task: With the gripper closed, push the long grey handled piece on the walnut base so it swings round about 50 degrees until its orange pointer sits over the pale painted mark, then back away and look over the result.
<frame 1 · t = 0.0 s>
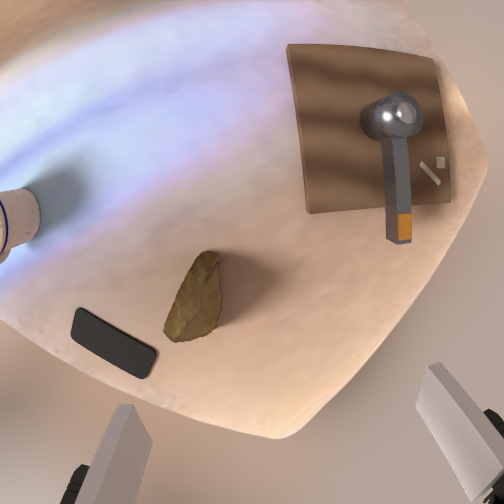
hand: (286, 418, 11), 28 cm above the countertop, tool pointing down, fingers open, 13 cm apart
rock: (208, 289, 39), on the countertop
teacup with lid: (22, 222, 36), on the countertop
phone: (112, 342, 42), on the countertop
base board: (376, 124, 34), on the countertop
grey handled piece: (396, 168, 29), point 6 cm above the countertop, hinge at 0.0°
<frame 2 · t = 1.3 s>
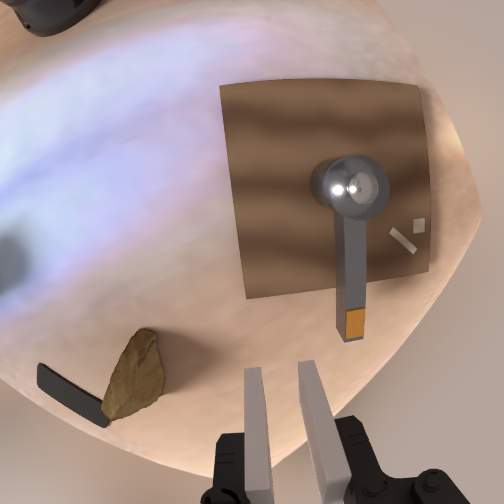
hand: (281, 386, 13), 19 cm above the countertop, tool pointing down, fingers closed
rock: (150, 361, 35), on the countertop
phone: (73, 394, 38), on the countertop
base board: (336, 182, 29), on the countertop
grey handled piece: (350, 253, 25), point 6 cm above the countertop, hinge at 0.0°
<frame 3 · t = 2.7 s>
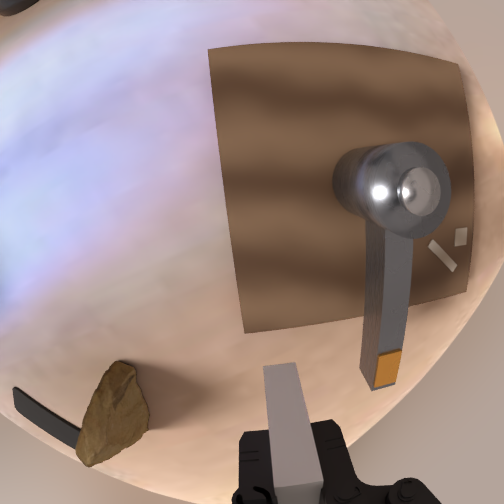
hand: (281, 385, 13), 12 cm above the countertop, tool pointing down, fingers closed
rock: (131, 395, 28), on the countertop
phone: (52, 420, 30), on the countertop
base board: (364, 179, 22), on the countertop
grey handled piece: (388, 279, 17), point 6 cm above the countertop, hinge at 0.0°
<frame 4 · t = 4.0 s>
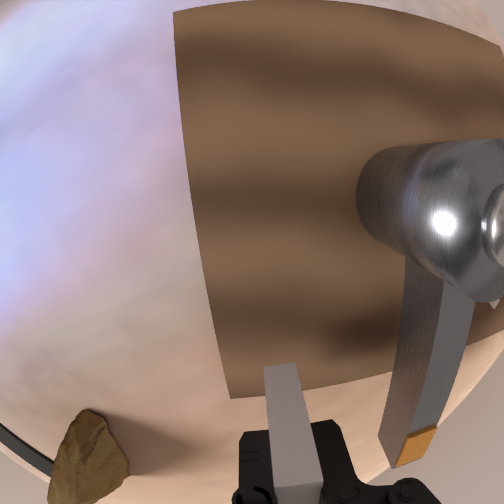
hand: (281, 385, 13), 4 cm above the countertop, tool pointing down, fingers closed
rock: (106, 443, 21), on the countertop
phone: (32, 452, 24), on the countertop
base board: (395, 192, 15), on the countertop
grey handled piece: (432, 342, 11), point 6 cm above the countertop, hinge at 0.0°
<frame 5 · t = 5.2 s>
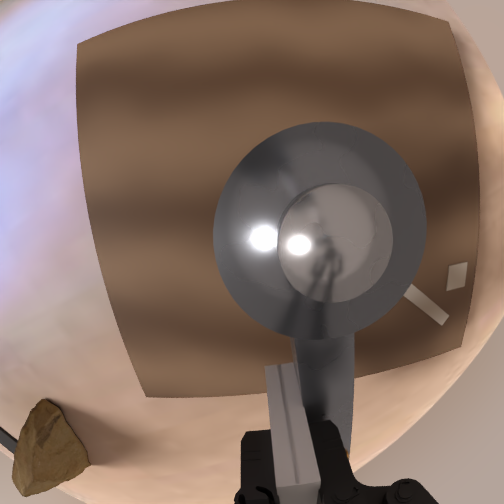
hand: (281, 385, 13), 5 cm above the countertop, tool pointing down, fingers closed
rock: (67, 432, 21), on the countertop
phone: (13, 441, 24), on the countertop
base board: (301, 196, 15), on the countertop
grey handled piece: (321, 366, 11), point 6 cm above the countertop, hinge at 3.3°, touching gripper
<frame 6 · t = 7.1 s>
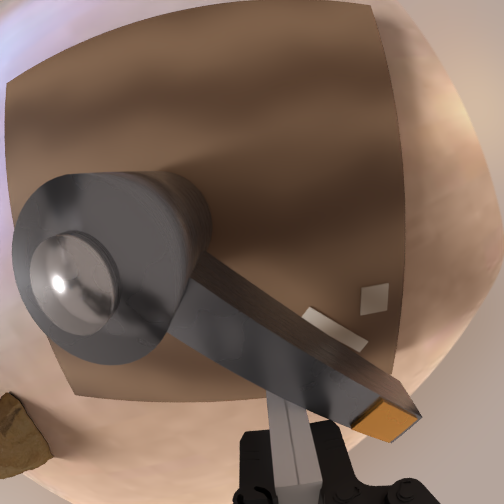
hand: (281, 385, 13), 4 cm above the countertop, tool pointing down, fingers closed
rock: (30, 424, 21), on the countertop
base board: (189, 215, 15), on the countertop
grey handled piece: (268, 343, 10), point 6 cm above the countertop, hinge at 46.2°, touching gripper
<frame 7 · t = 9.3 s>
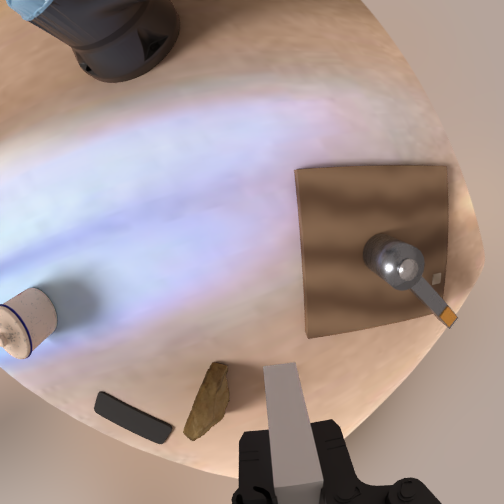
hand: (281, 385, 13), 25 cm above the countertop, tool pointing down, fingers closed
rock: (217, 387, 42), on the countertop
teacup with lid: (39, 316, 39), on the countertop
phone: (132, 417, 45), on the countertop
base board: (379, 247, 37), on the countertop
grey handled piece: (420, 288, 32), point 6 cm above the countertop, hinge at 46.3°
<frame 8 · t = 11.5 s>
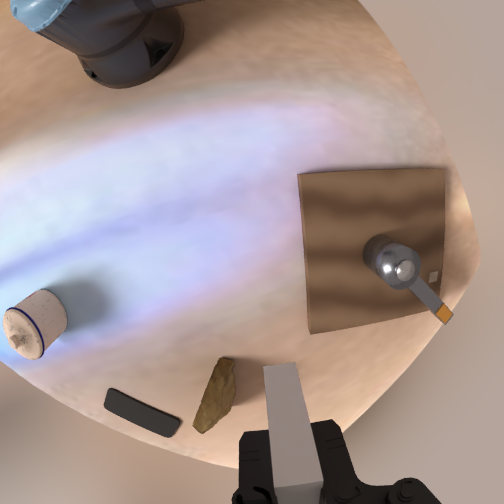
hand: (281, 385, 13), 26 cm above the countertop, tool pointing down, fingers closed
rock: (224, 381, 45), on the countertop
teacup with lid: (49, 317, 41), on the countertop
phone: (141, 412, 47), on the countertop
base board: (378, 247, 39), on the countertop
grey handled piece: (417, 286, 34), point 6 cm above the countertop, hinge at 46.3°
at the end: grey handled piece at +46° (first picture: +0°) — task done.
